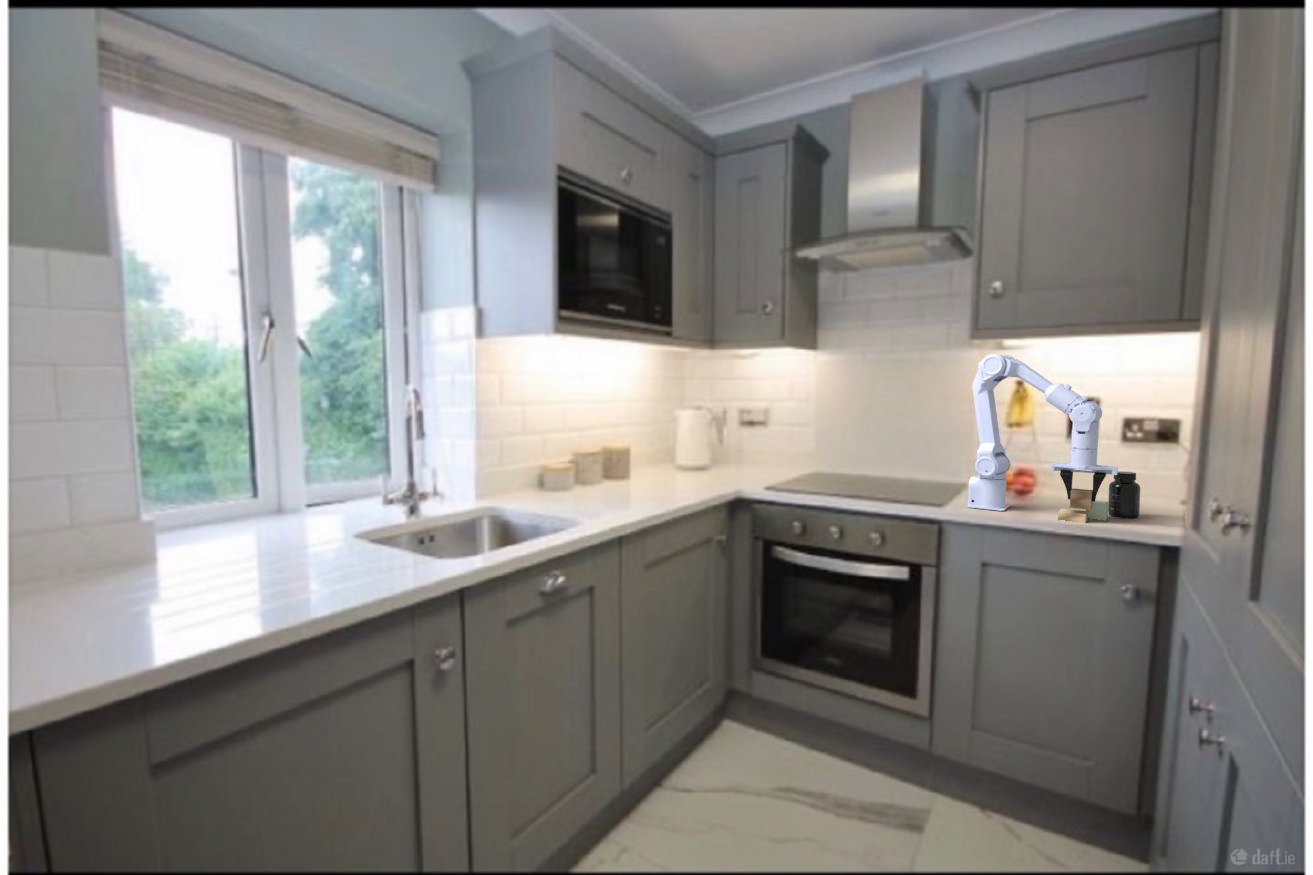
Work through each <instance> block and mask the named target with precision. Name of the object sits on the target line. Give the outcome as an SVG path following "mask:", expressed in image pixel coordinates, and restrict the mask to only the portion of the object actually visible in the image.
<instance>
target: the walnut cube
mask: <svg viewBox="0 0 1313 875" xmlns="http://www.w3.org/2000/svg"><path fill="white" fill-rule="evenodd" d="M1092 492H1093V489H1086V488H1085V489H1084V488H1072V490H1071V495H1070V499H1069V508H1071V509H1078V510H1086V509H1089V510H1091V508H1092V504H1093V502H1092Z"/></svg>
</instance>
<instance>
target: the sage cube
mask: <svg viewBox="0 0 1313 875" xmlns="http://www.w3.org/2000/svg"><path fill="white" fill-rule="evenodd" d="M1085 511H1088V518H1089V519H1088V520H1093V519H1097V520H1096V521H1102V520H1104V521H1103V522H1106V521H1107V520H1106V519H1108V516H1109V514H1108V501H1104V500H1095V502H1093V504H1092V508H1091V510H1089V509H1085Z"/></svg>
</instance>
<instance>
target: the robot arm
mask: <svg viewBox="0 0 1313 875" xmlns="http://www.w3.org/2000/svg"><path fill="white" fill-rule="evenodd" d="M1009 377H1010V378H1016V379H1017V378H1018V379H1019V380H1021V381H1023V382H1025V383H1027V384H1028V385H1030V386H1031V387H1033V388H1034V389H1037V390H1038V391H1039V392H1041V393H1043V394H1044V397H1045V402H1046V403H1047V402H1048V403H1049V405H1052V406H1053V407H1054V408H1056V409H1058V410H1059V411H1061V412H1062V413H1063V414H1065V416H1066V415H1067V416H1068V417H1069V419H1070V421H1071V422H1072V426H1071V427H1072V428H1071V442H1070V462H1067V463H1061V462H1050V464H1049V471H1050V472H1055V471H1057V472H1060V473H1059V476H1060V477H1061V480H1062V481H1063V484H1064V486H1065V490H1066V493H1067V500H1070V495H1071V490H1072V489H1073V479H1074V476H1073V475H1074V473H1083V474H1084V473H1085V474H1087V473H1088V474H1093V476H1092V490H1093V492H1092V502H1095V500H1096V499H1097V495H1098V493H1099V489H1100V487H1101V485H1102V483H1103V481H1104V480H1105V478H1106V477H1107V475H1112V476H1114V475H1117V474H1118V472H1119V471H1118V470H1119V469H1118V468H1119V467H1118V466H1109V465H1099V464H1098V446H1099V421H1100V419H1102V416H1103V410H1102V407H1101V406H1100V405H1099V404H1097V402H1094V401H1088V399H1089V398H1088V397H1086V396H1082V395H1080V394H1079V393H1077V392H1075V391H1074V390H1072V389H1073V388H1072V386H1071V385H1070V384H1063V383H1057V384H1056V383H1055V384H1054V383H1052V382H1051V381H1050V380H1048V379H1047V378H1045V377H1044V376H1043V375H1041V374H1040V373H1038V371H1036V370H1035V369H1033V368H1031V367H1030V366H1029V365H1027V364H1026V363H1025V362H1023V361H1021V360H1020V359H1016V358H1015V357H1013V356H1012V355H1009V354H995V353H993V354H988V355H987V356H985V358H983V359H982V360H981V361H980V362H979V363H978V367H977V371H976V374H975V376H974V379H973V381H972V387H971V389H972V396H973V402H974V410H975V417H976V426H977V432H978V439H979V447H978V449H977V451H976V460H975V463H974V469H975V472H976V473H977V474H978V475H977V476H976V475H975V476H974V475H973V476H970V478H969V480H968V495H967V498H968V499H967V506H966V507H967V508H972V509H981V510H990V511H991V510H992V511H1000V512H1005V511H1006V510H1007V509H1008V508H1010V505H1009V504H1006V500H1007V499H1006V496H1007V495H1006V494H1007V493H1006V492H1007V475H1006V473H1007V472H1008V471H1009V470H1010V467H1011V460H1010V459H1009V457H1008V456H1007V454H1006V449H1005V448H1004V446H1003V445H1002V443H1001V437H1000V428H999V422H998V415H997V414H998V413H997V408H996V400H995V392H994V389H995V388H996V387H997V386H998V385H999V384H1001V382H1002V381H1004V380H1005V379H1007V378H1009ZM1096 501H1097V500H1096Z"/></svg>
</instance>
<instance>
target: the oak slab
mask: <svg viewBox="0 0 1313 875" xmlns="http://www.w3.org/2000/svg"><path fill="white" fill-rule="evenodd" d="M1087 518H1088V511H1086V510H1082V509H1078V510H1077V509H1072V508H1071V509H1069V508H1060V509H1059V511H1058V512H1057V521H1060V520H1065V521H1064V522H1070V521H1072V522H1071V523H1082V524H1086V522H1087V521H1088V519H1087Z"/></svg>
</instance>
